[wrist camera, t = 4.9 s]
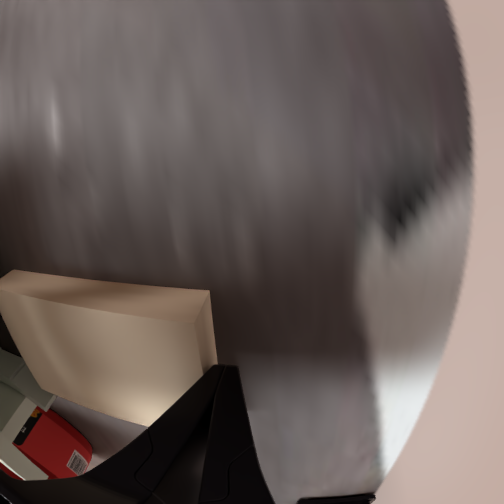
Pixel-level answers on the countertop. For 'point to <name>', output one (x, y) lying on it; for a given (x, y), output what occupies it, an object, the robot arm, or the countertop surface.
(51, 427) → the canned food
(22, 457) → the pale green angular bracket
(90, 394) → the panel
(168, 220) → the countertop surface
